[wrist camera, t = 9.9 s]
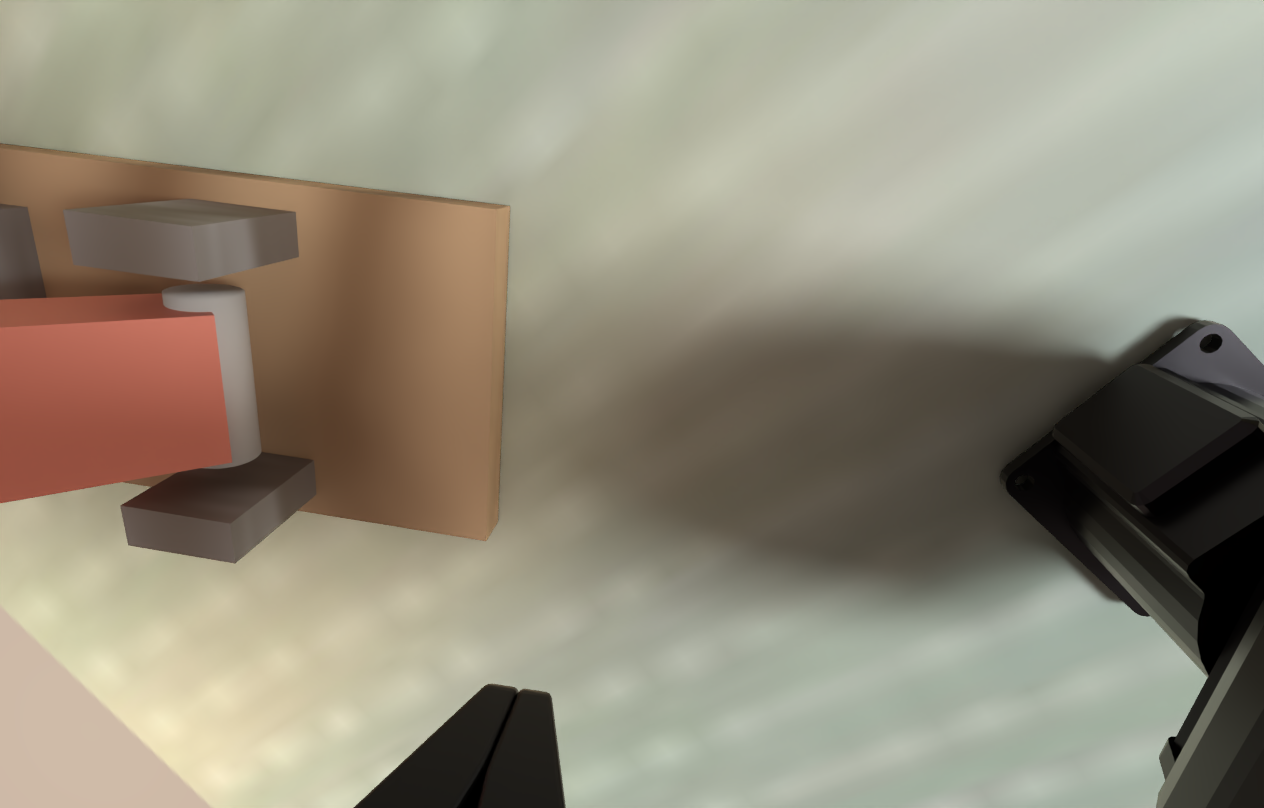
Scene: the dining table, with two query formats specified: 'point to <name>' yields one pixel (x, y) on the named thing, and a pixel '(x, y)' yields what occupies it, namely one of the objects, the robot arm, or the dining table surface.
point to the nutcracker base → (294, 334)
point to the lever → (124, 388)
